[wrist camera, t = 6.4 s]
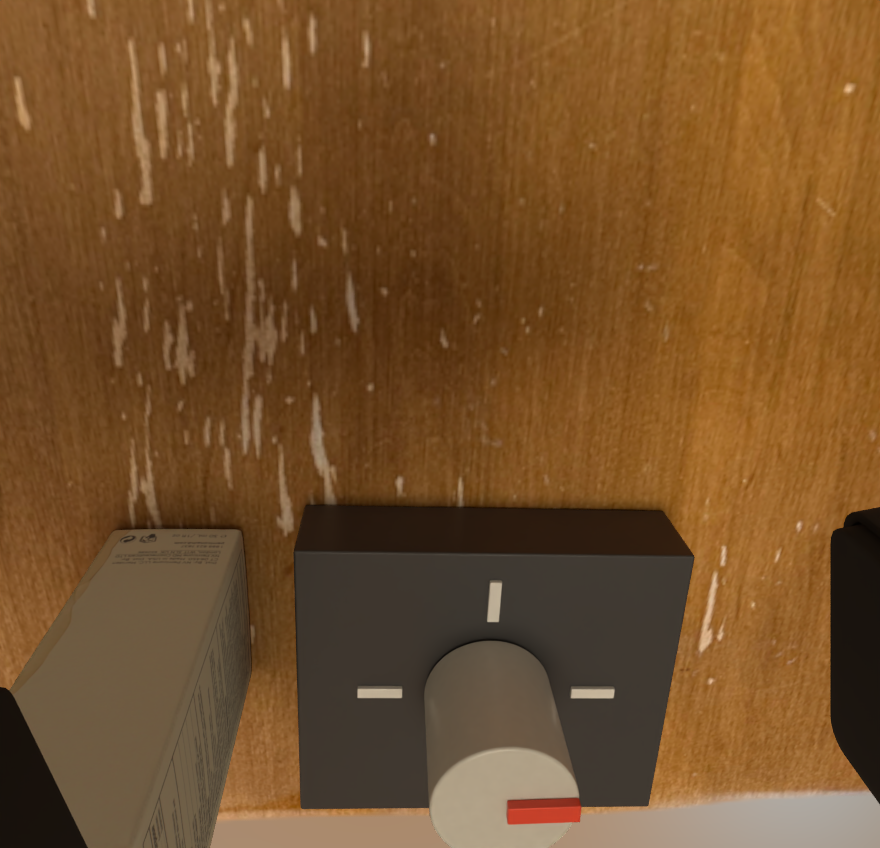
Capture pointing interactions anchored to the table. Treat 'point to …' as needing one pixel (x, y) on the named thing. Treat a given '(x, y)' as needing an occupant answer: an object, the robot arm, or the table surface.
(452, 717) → the hob knob
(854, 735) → the robot arm
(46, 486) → the table surface
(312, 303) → the table surface
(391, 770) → the panel
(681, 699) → the table surface
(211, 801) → the cosmetic box
